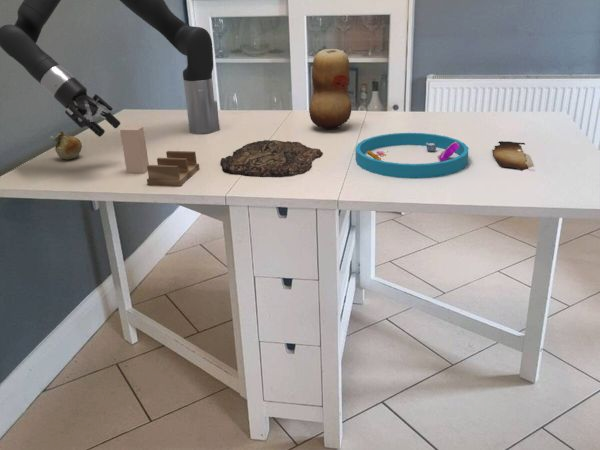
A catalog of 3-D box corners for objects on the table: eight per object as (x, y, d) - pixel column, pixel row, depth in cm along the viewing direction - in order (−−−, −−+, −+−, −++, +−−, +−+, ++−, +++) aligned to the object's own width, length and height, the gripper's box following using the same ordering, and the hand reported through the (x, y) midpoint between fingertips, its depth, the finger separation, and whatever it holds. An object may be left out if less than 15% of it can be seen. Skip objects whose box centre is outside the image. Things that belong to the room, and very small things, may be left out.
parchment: (536, 172, 149) (536, 168, 149) (495, 169, 151) (495, 166, 151) (525, 145, 171) (525, 142, 171) (489, 143, 174) (490, 140, 173)
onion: (61, 164, 170) (55, 137, 167) (53, 158, 176) (48, 131, 173) (87, 158, 174) (82, 132, 171) (79, 152, 180) (74, 127, 177)
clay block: (132, 168, 164) (125, 126, 159) (149, 169, 163) (143, 126, 158) (127, 172, 161) (119, 129, 156) (144, 173, 160) (137, 130, 155)
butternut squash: (324, 136, 186) (322, 54, 176) (302, 127, 197) (299, 50, 187) (360, 128, 192) (360, 49, 182) (337, 120, 203) (336, 45, 193)
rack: (168, 168, 163) (166, 150, 161) (199, 168, 161) (197, 151, 159) (147, 185, 151) (144, 166, 149) (180, 186, 149) (178, 167, 147)
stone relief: (205, 158, 156) (250, 129, 182) (207, 174, 158) (251, 143, 184) (298, 165, 148) (331, 133, 174) (299, 182, 150) (332, 148, 176)
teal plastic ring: (471, 181, 146) (473, 158, 143) (350, 178, 151) (350, 156, 149) (463, 146, 172) (465, 126, 170) (360, 144, 178) (360, 125, 175)
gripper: (55, 82, 148) (104, 127, 150) (85, 71, 161) (130, 114, 163) (40, 102, 151) (89, 147, 154) (71, 91, 164) (116, 132, 166)
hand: (110, 130), depth 158 cm, fingers open, 8 cm apart
